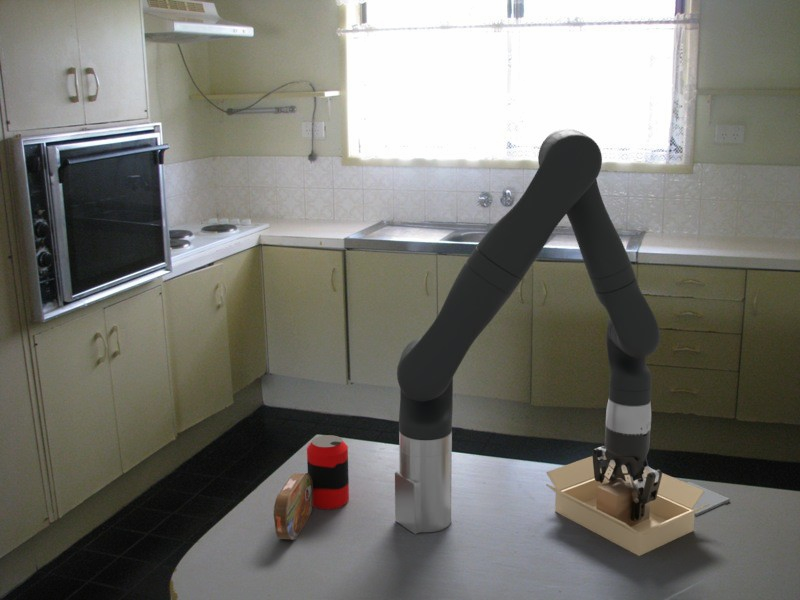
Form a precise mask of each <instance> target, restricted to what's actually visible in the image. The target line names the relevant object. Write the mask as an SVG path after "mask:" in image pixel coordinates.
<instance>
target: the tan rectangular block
mask: <svg viewBox="0 0 800 600" xmlns="http://www.w3.org/2000/svg"><path fill="white" fill-rule="evenodd" d="M637 482H638V480H635V481H634V483H637ZM638 493H639V489H638ZM639 494H640V493H639ZM632 502H633V497H632V494H631V491H630V490H629V489H628V487H627V483H626V481H624V480H623V479H621V478H619V479H616V480H613V481H611V482H608V483H605V484H603V485H600V486H598V487H597V503H596V509H598V510H600V511H602V512H604V513H606V514H608V515H610V516H612V517H614V518H616V519H618V520H620V521H622V522H624V523H626V524H627V525H629V526H630V527H631V526H633V525H635V524H638V523H640V522H642V521H645V520H647V519H649V516H650V502H648V503H646V504H645V512H644V513H645V515H644V517H643V518H642V519H641V520H639V521H637V522H634V521H632V520H631V512H632Z"/></svg>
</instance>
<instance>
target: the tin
mask: <svg viewBox="0 0 800 600" xmlns="http://www.w3.org/2000/svg"><path fill="white" fill-rule="evenodd" d="M313 507H314V506H313V484H312V479H311V477H310V475H309V474H308V472H307V473H293V474H292V475H291V476H290V477H289V479H288V480H287V482H285V484H284V485H283V487H282V488H281V490H280V491H279V492H278V494H277V495H276V498H275V502H274V506H273V520H274V528H275V535H276V536H277V538H278V539H281V540H292V541H294V540H296V539H297V538H298V536H299V534H301V531H302V530H303V528H304V526H305V525H306V523H307V522H308V520H309V518H310V517H311V513H312V511H313Z"/></svg>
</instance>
